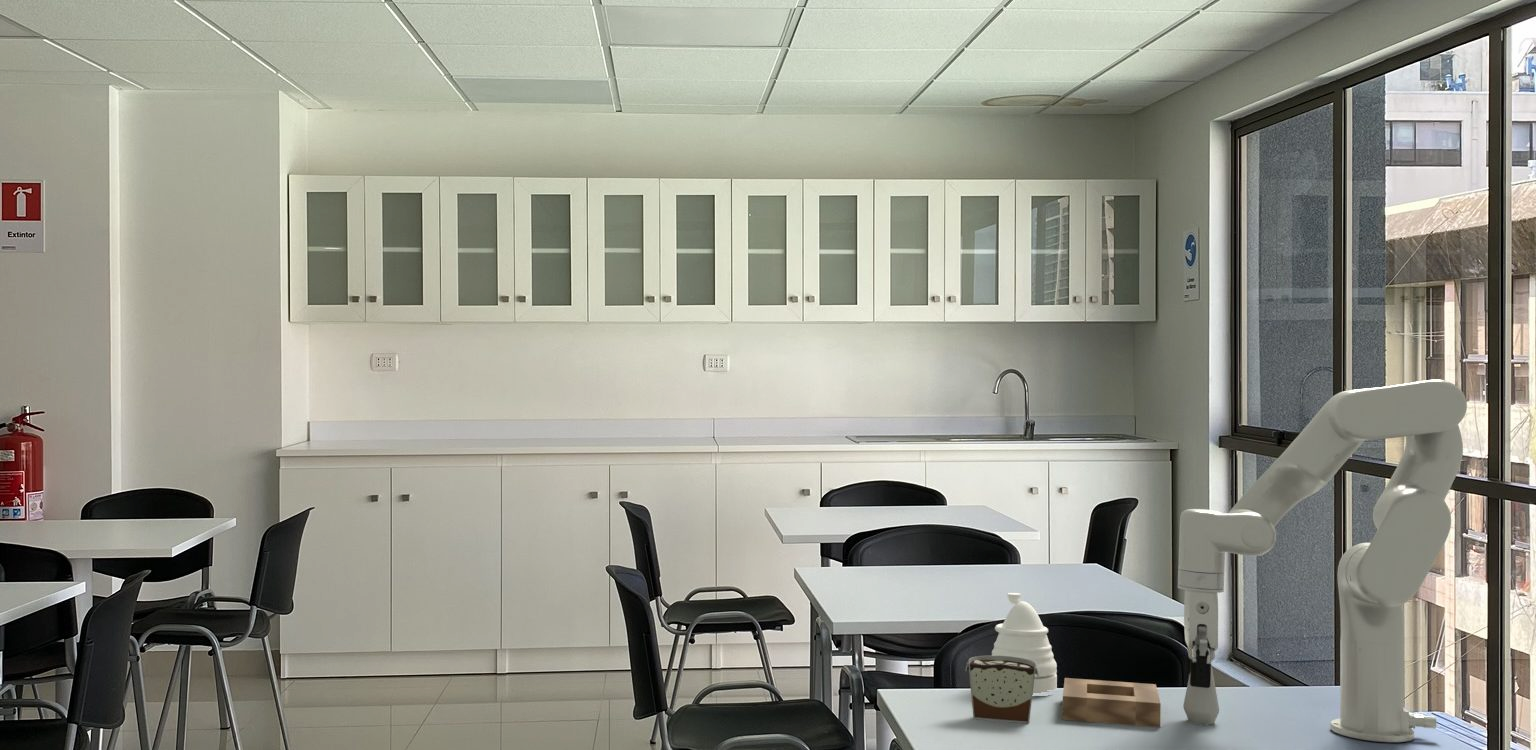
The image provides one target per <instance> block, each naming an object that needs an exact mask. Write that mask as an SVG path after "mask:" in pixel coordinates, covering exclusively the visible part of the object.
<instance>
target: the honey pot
mask: <svg viewBox="0 0 1536 750" xmlns="http://www.w3.org/2000/svg"><path fill="white" fill-rule="evenodd" d="M1006 595H1007V599H1008V601H1009V602H1010V603H1011V604H1013V606H1012V608H1011V609H1010V610H1009V612H1008V613H1007V615H1006V617H1005V619H1004V621H1003V623H999V624H996V625H995V627H994V630H995V631H996V632H997V633H998V634H997V638H996V641H995V642H994V643H993V649H992V650H991V656H1011V657H1018V658H1024V659H1028V660H1031V661H1033V662H1035V663H1036V667H1037V670H1038V675H1039V677H1038V675H1037V674H1035V678H1034V687H1033V693H1041V692H1049V691H1047V690H1054V689H1057V690H1058V684H1057V683H1058V675H1057V673H1058V670H1057V667H1058V665H1057V662H1056V660H1055V658H1054V653H1053V651H1052V648H1053V646H1052V645H1051V644H1050V641H1049V638H1048V635H1047V634H1048V633H1049V628H1048V627H1046V626H1044V624H1043V622H1042V621H1041V618H1040V616H1039V614H1038V612H1037V611H1036V609H1035V608H1034V607H1033V606H1032V605H1031V604H1030V603H1028V601H1022V600H1021V596H1022V593H1019V592H1008V593H1007V594H1006Z"/></svg>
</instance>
